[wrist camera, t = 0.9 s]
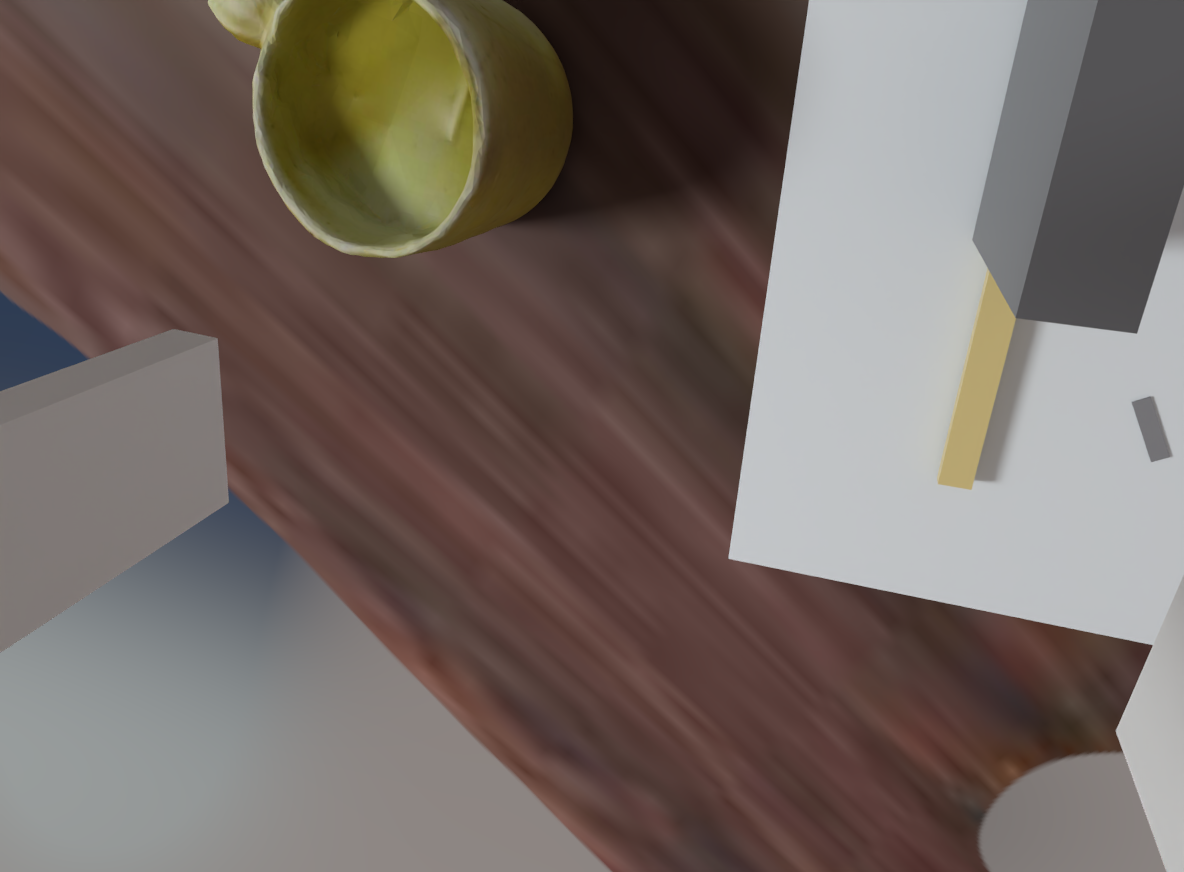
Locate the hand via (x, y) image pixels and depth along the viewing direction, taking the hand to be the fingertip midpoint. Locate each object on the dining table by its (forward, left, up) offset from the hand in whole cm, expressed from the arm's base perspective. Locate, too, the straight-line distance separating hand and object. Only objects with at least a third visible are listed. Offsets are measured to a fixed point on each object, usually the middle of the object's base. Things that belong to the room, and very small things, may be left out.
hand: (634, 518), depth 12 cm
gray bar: (-1, +7, -23) cm, 24 cm away
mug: (-4, -15, -25) cm, 29 cm away
